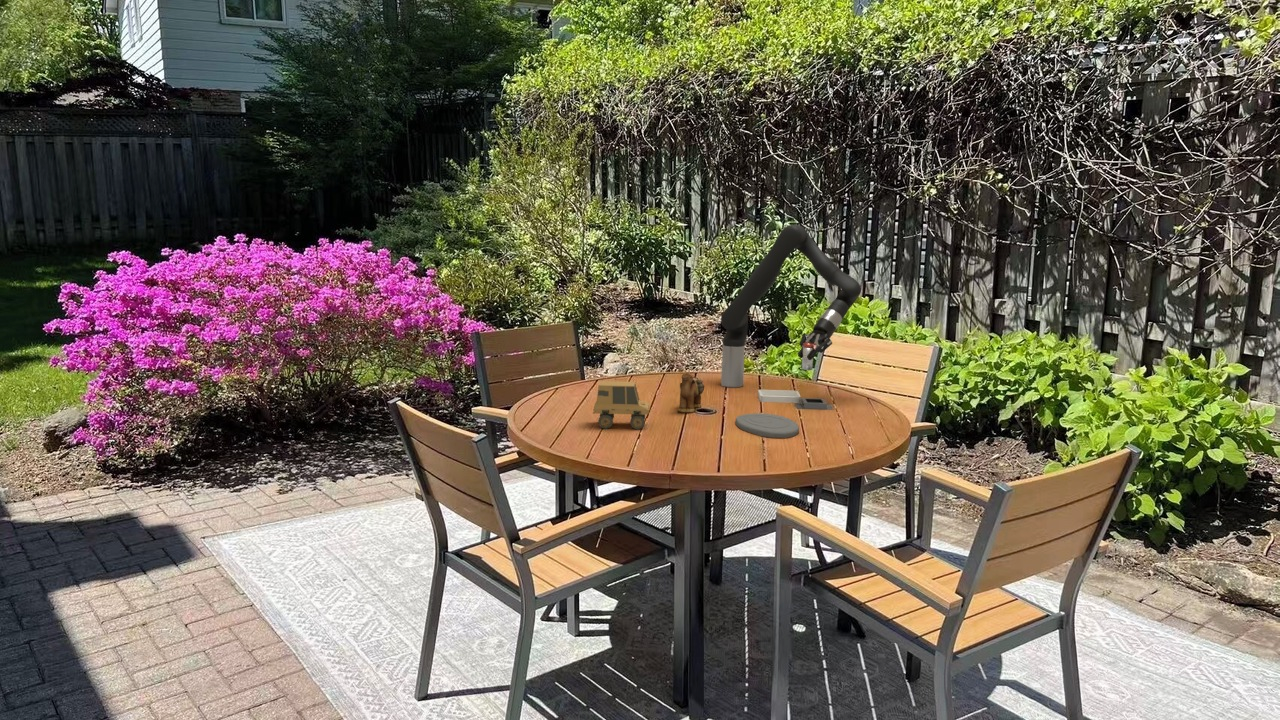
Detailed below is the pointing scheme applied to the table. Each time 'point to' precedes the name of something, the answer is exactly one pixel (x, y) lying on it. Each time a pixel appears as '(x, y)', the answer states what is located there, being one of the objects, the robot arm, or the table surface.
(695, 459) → the table surface
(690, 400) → the figurine
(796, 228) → the robot arm
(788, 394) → the tray
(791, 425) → the frisbee
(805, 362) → the pin
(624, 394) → the toy car
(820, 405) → the hitch
